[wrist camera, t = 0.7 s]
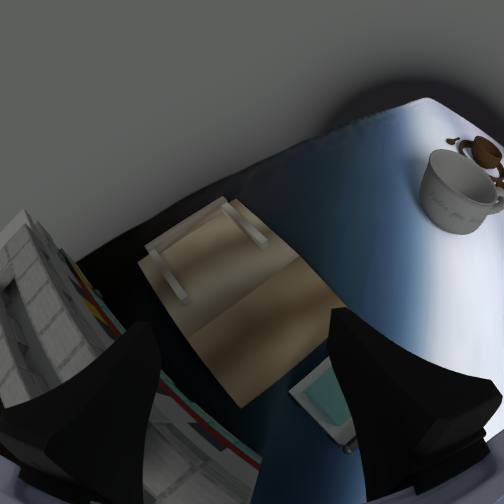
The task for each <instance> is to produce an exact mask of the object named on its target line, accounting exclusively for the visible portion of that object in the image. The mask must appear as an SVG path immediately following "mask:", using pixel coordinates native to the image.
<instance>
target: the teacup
mask: <svg viewBox="0 0 504 504" xmlns="http://www.w3.org/2000/svg"><path fill="white" fill-rule="evenodd" d="M498 196H501V199H500V201H499V202H497V200H498ZM420 200H421V203H422V206H423V208H424V210H425V212H426V213H427V215H428V216H429V218H430V219H431V221H432V222H433V223H434V224H435V225H436V226H438V227H439V228H440V229H442V230H444V231H446V232H449V233H453V234H459V235H466V234H470V233H472V232H474V231H475V230H476V229H477V228H478V227H479V226H480V225H481V224H482V222H483V221H484V220H485V218H486V216H487V215H490V214H495V213H498V212H500V211H502V210H503V209H504V189H503V188H501V187H496V186H495V184H494V183H493V181H492V179H491V178H490V177H489V175H488V174H487V173H486V172H485V171H484V170H483V169H482V168H481V167H480V166H478V165H477V164H476V163H475V162H473V161H472V160H470V159H469V158H467V157H465V156H463V155H461V154H459V153H457V152H454V151H450V150H443V149H440V150H435V151H433V152H432V153H431V154H430V157H429V163H428V165H427V168H426V171H425V174H424V177H423V180H422V183H421V187H420ZM496 202H497V203H496ZM495 203H496V204H495Z"/></svg>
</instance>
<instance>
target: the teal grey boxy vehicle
mask: <svg viewBox="0 0 504 504" xmlns="http://www.w3.org/2000/svg"><path fill="white" fill-rule="evenodd" d="M288 395H289V396H290V397H291V399H292V400H293V401H294V402H295V403H296V404H297V405H298V406H299V407H302V408H303V409H304V410H305V411H306V412H307V413H308V414H309V415H310V416H311V417H312V418H313V419H314V420H315V421H316V423H317V424H318V425H319V426H320V427H321V428H322V429H323V430H324V431H325V432H326V433H327V436H328V437H329V438H330V439H331V440H332V441H333V442H334V443H335V444H336V445H337V446H339V447H341V448H343V452H344V453H345V454H351V453H353V452H354V451H355V450H356V449H357V448H358V447H359V445H358V440H357V436H356V432H355V428H354V424H353V420H352V417H351V414H350V411H349V408H348V405H347V403H346V401H345V398H344V396H343V393H342V391H341V388H340V386H339V383H338V381H337V378H336V376H335V373H334V371H333V368H332V365H331V361H330V358H329V356H328V357H327V358H326V359H325V360H324V361H323V362H322V363H321V364H320V365H318V366H317V367H316V368H315V369H314V370H313V371H312V372H311V373H309V374H308V375H307V376H306V377H305V378H304V379H302V380H301V381H300V382H299V383H298V384H297V385H295V386H294V387H293V388H292V389H291V390H289V391H288Z"/></svg>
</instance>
